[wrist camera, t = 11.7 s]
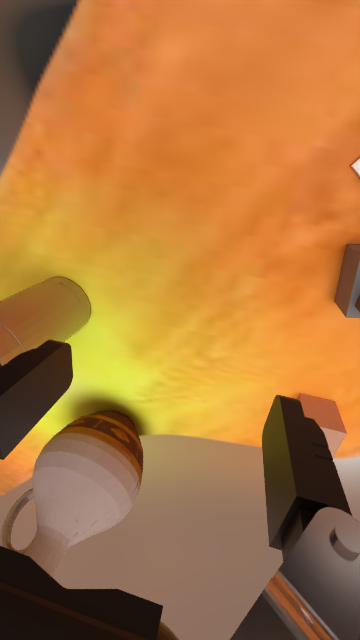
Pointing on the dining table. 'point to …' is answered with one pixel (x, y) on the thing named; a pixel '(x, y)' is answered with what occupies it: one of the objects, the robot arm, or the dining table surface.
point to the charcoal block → (349, 282)
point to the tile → (356, 167)
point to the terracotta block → (325, 419)
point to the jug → (80, 485)
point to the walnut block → (358, 304)
